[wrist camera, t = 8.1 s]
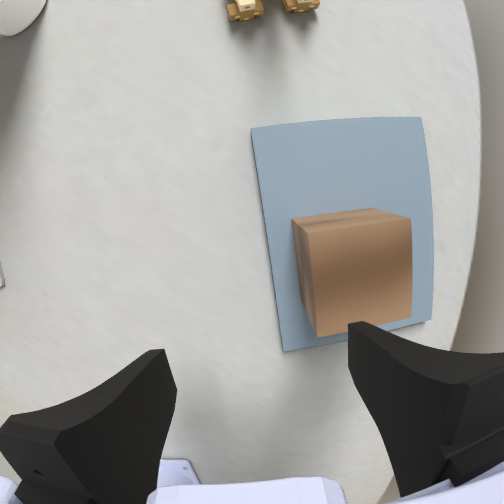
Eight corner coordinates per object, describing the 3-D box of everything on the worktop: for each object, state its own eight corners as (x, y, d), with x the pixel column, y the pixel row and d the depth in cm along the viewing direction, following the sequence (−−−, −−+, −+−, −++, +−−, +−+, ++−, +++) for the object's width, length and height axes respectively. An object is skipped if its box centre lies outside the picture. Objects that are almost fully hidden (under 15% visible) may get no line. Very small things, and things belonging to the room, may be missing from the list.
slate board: (426, 315, 21) (431, 319, 20) (282, 345, 21) (283, 351, 20) (415, 118, 18) (421, 117, 17) (250, 130, 18) (250, 128, 17)
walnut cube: (376, 285, 19) (411, 317, 14) (300, 299, 19) (317, 337, 14) (371, 207, 18) (411, 218, 13) (291, 218, 18) (307, 233, 13)
